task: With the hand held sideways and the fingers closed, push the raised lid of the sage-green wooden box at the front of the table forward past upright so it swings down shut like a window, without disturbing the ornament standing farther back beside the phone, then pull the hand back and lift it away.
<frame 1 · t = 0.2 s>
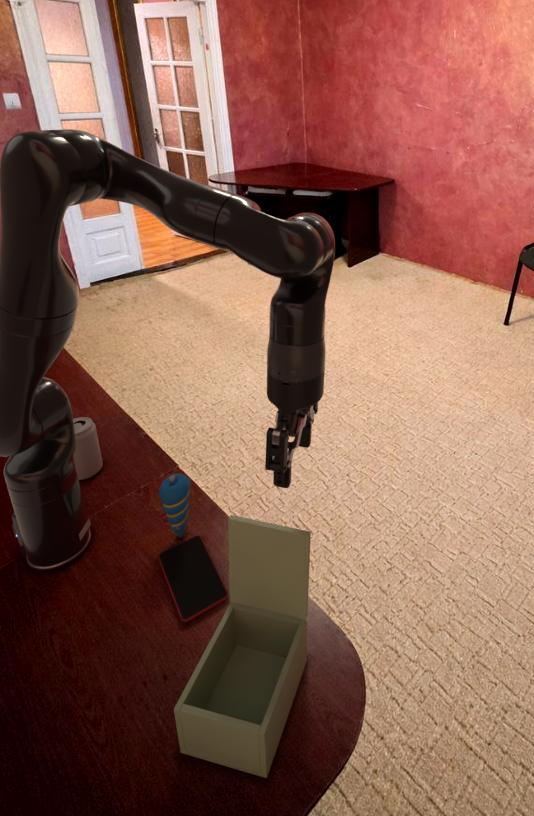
hand: (293, 464, 69), 29 cm above the table, tool pointing down, fingers open, 8 cm apart
lid: (268, 567, 67), point 16 cm above the table, hinge at 95.0°
ornament: (181, 538, 90), on the table
smartphone: (192, 578, 82), on the table
beverage can: (86, 472, 103), on the table
chest: (248, 702, 66), on the table
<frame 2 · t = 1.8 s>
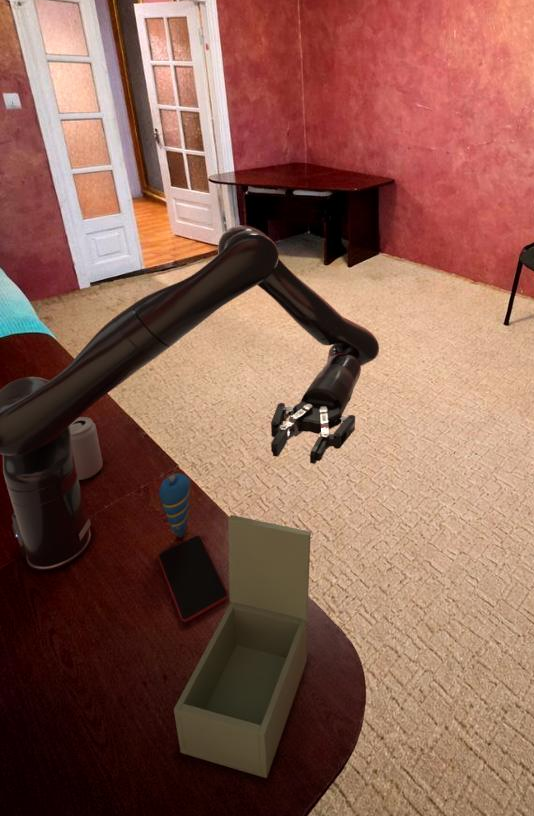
hand: (293, 455, 72), 28 cm above the table, tool horizontal, fingers open, 5 cm apart
nothing on the table moved.
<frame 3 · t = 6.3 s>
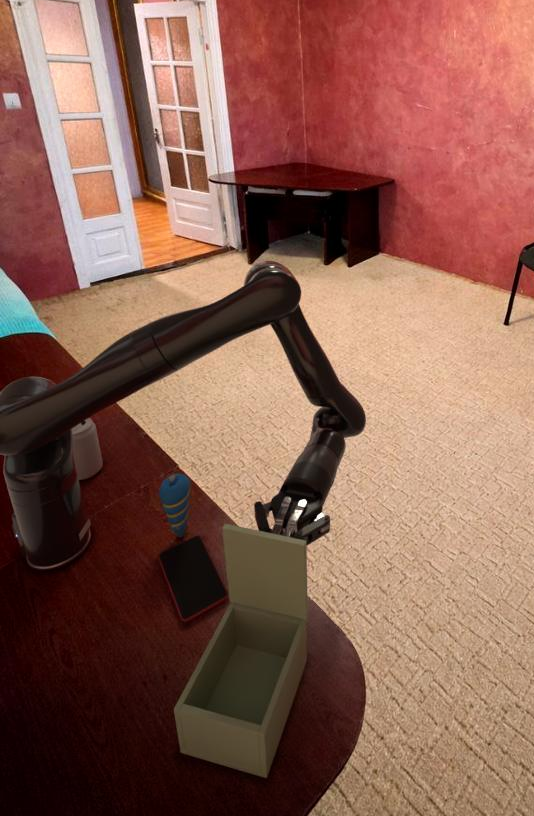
hand: (267, 566, 66), 17 cm above the table, tool horizontal, fingers closed
lid: (266, 572, 66), point 16 cm above the table, hinge at 88.7°, touching gripper
everything else where it was.
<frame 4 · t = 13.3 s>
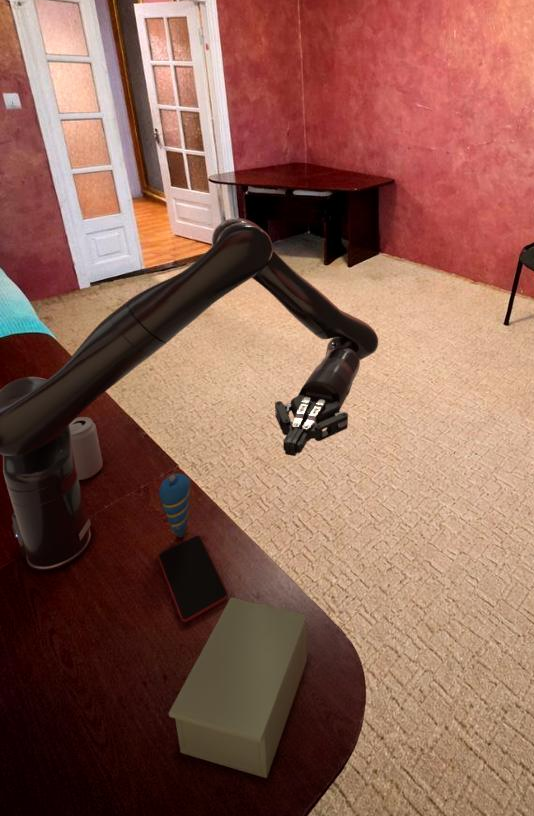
hand: (289, 450, 70), 30 cm above the table, tool horizontal, fingers closed
lid: (244, 661, 62), point 9 cm above the table, hinge at -0.1°
everything else where it was.
at the end: lid at +0° (first picture: +95°); ornament moved 0.2 cm from its start; ornament tilted 0° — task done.
